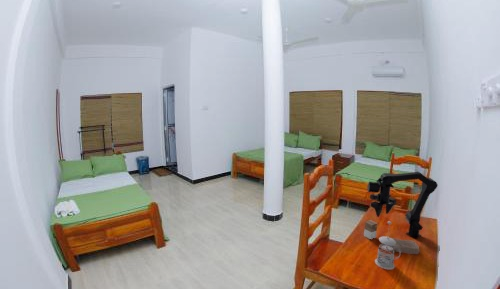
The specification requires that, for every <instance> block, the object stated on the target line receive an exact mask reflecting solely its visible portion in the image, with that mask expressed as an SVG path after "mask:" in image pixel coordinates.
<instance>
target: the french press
mask: <svg viewBox="0 0 500 289" xmlns="http://www.w3.org/2000/svg"><path fill="white" fill-rule="evenodd" d="M387 224H388V226H390V225H392V221H390V220H388V221H387ZM389 230H390V229H388V231H387V235H389V232H390V231H389ZM378 240H379V242H380V243H381V244H379V246H378V249H377V258H375V259H374V263H375V264H376V265H377V267H379V268H382V269H383V270H384V269H385V270H394V269H395V268H396V266H395V263H394V262H395V259H396V260H398V259H399V258H400V257H401V253H402V252H401V250H400V251H399V252H398V253H399V255H398V256H395V251H394V249H395V247H396V246H397V245H395V244H396V242H395V240H393V239H392V237H389V236H380V237H379V238H378ZM393 245H395V247H394V248H393V247H392V246H393ZM397 247H398V246H397ZM397 247H396V248H397ZM398 248H399V247H398ZM398 248H397V249H398ZM399 249H400V248H399ZM399 249H398V250H399Z"/></svg>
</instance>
